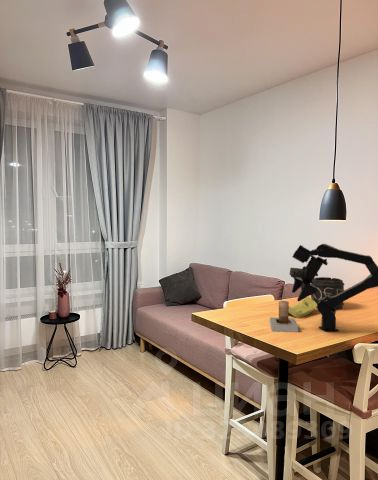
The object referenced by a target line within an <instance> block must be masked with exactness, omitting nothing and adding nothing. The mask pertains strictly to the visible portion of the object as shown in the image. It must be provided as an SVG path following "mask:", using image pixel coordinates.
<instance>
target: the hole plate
mask: <svg viewBox="0 0 378 480" xmlns="http://www.w3.org/2000/svg"><path fill="white" fill-rule="evenodd" d="M269 326H270V330H271V332H287V333H289V332H290V333H292V332H293V333H299V324H298V323H297V320H296V319H295V318H294V317H292V318H291V317H288V323H279V317H269Z"/></svg>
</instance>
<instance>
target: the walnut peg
mask: <svg viewBox="0 0 378 480" xmlns="http://www.w3.org/2000/svg"><path fill="white" fill-rule="evenodd" d="M289 304H290V302H289V301H286V300H279V301H278V318H279V323H288V318H290V317H289V314H290V313H289V306H290V305H289Z"/></svg>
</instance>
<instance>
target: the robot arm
mask: <svg viewBox="0 0 378 480" xmlns="http://www.w3.org/2000/svg"><path fill="white" fill-rule="evenodd" d="M316 256H317V257H316ZM292 258H293V259H295V260H296V261H299V263H302V264H304V263H307V264H306V266H305V265H304V266H303V267H302V268H299V267H290V268H289V269H290V270H289V276H290V277H291V278H293V280H294V281H293V286H292V290H291V293H293V294H295V292H297V291H298V290H299V289H300V293H299V294H298V297H297V302H301V301H303V300H304V299H305V298H306V297H309V296H310V297H311V295H313V294H316V292H317V288H316V287H315V286H314V285H313V283H314V282H313V279H314V278H316V277H318V276H319V274H318V272H319V271H320V270H321V267H323V265H325V266H328V264H329V263H328V259H327V258H329V259H339V260H344V261H349V262H353V263H357V264H362V265H364V266H365V268H366V269H367V270H368V272H369V275H368V276H366V277H365V278H364V279H363V280H362V281H359V282H358V283H355V284H354V285H352V286H351V287H348V288H346V289H344V291H342V292H341V293H339V294H337V295H335V296H330V295H329V294H328V295H327V296H325V297H322V298H321V299H320V301H319V303H318V305H317V308H316V309H317V311H318V312H319V313H320V314H321V321H320V322H321V324H320V325H321V326H318V329H319V330H322V331H324V332H327V333H329V332H339V328H337V326H336V325H337V317H336V313H337V310H336V309H335V307H336V306H337V305H338V304H340V303H342V302H343V303H344V302H345V301H347V300H350V299H351V298H353V297H354V296H357V295H358V294H360V293H363V292H364V291H366V290H369V289H374V288H377V287H378V265H377V264H376V262H375V261H374V259H373V257H372V256H371V255H368V254H367V255H366V254H362V253H356V252H351V251H347V250H342V249H340V248H339V249H338V248H337V247H334V246H331V244H330V245H329V244H328V243H327V244H326V243H321V244H319V245H318V246H317V247H315V248H314V249H311V250H310V249H308V248H306V247H304V246H303V245H302V244H300V245H298V248H297V249H296V250H295V251H294V253H293V254H292Z"/></svg>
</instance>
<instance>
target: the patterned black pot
mask: <svg viewBox="0 0 378 480" xmlns="http://www.w3.org/2000/svg"><path fill="white" fill-rule="evenodd" d="M313 282H314V283H313V285H314V286H315V287H316V288H317V292H316V294H313V295H310V298H311V299H312V300H313V301H315V302H316V303H317V305H318V303H319V301H320V299H321V298H322V297H325V296H327V295H328V294H329V295H330V296H335V295H337V294H339V293H341V292H342V291H344V290H345V288H344V286H345V283H344V281H343V280H342V279H340V278H336V277H332V278H331V277H328V276H325V277H324V276H320V277H318V276H317V277H315V278H314V279H313ZM344 305H345V303H344V301H343V302H342V303H340V304H338V305H337V306H336V307H335V309H336V311H338V310H341V309H342V308H343V306H344ZM315 309H317V307H316V308H315Z"/></svg>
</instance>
